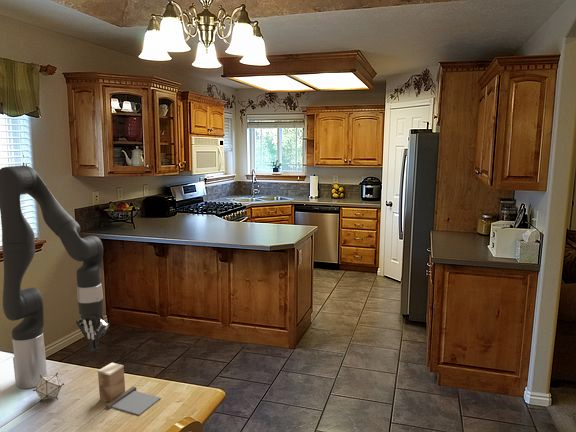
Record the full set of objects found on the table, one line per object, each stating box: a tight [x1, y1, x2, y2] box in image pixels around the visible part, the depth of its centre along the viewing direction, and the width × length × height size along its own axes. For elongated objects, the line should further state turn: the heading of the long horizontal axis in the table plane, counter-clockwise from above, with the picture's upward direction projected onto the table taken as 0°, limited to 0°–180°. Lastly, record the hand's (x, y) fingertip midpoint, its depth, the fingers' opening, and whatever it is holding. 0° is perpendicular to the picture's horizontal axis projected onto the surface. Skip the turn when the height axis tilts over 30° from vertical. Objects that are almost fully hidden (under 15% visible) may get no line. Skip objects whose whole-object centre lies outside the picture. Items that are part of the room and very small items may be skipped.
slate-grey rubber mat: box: [111, 390, 162, 416], centre depth 142 cm, size 11×10×1 cm
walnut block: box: [97, 362, 126, 403], centre depth 146 cm, size 5×6×10 cm
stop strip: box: [105, 386, 137, 410], centre depth 145 cm, size 2×12×1 cm, turn 157°
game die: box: [32, 372, 65, 403], centre depth 145 cm, size 9×8×10 cm
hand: (94, 348), depth 147 cm, fingers closed
